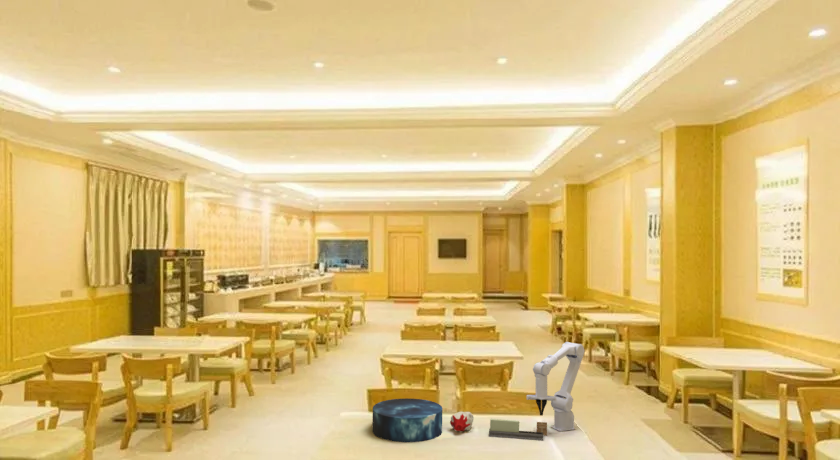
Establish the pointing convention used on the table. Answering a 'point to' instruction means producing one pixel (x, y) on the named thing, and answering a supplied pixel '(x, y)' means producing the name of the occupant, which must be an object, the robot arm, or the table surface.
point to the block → (542, 427)
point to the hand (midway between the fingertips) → (541, 414)
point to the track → (517, 435)
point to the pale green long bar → (504, 425)
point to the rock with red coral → (461, 421)
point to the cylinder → (407, 420)
